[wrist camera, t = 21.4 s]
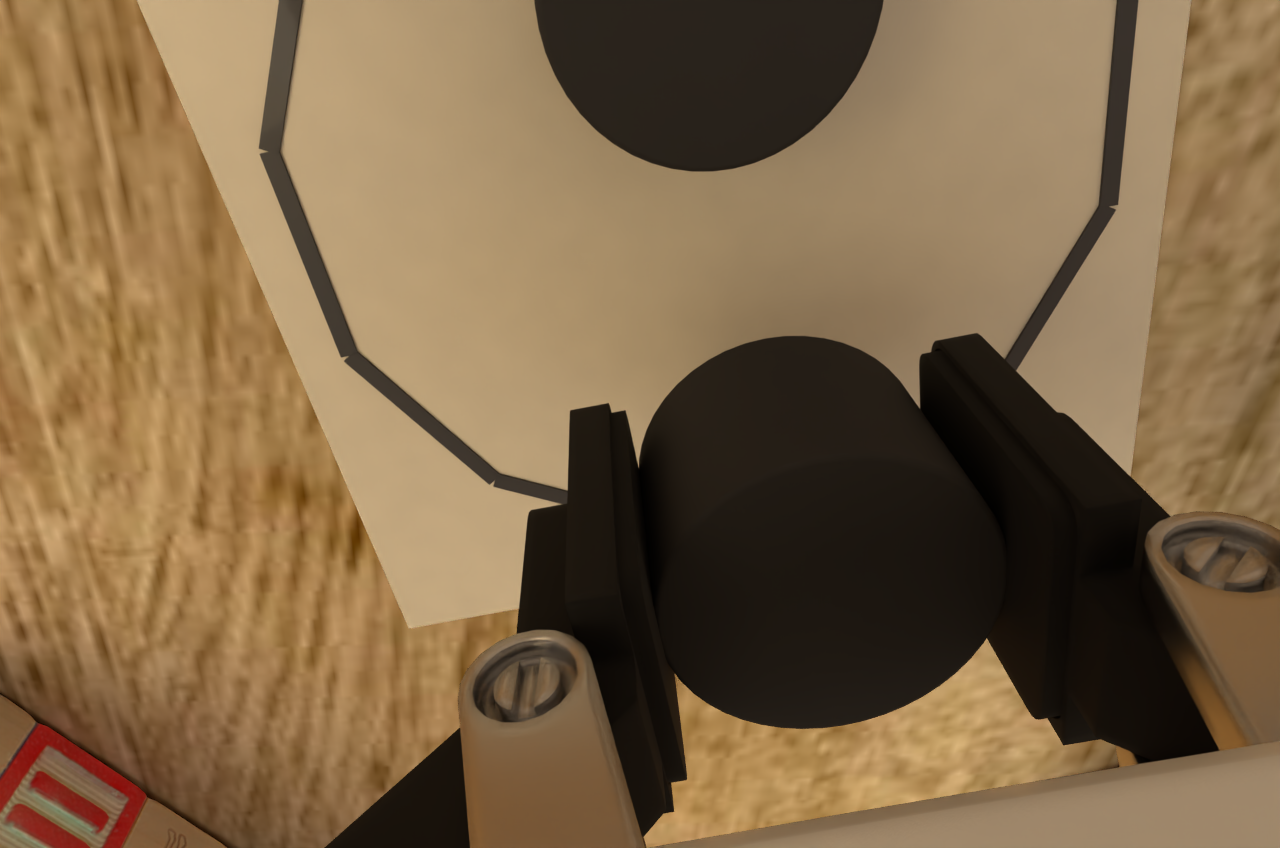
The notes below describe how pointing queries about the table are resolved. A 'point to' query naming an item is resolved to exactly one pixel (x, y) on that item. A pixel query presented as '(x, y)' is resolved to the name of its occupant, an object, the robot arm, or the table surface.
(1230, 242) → the table surface
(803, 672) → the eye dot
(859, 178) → the face card
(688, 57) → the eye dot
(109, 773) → the stack of blocks
